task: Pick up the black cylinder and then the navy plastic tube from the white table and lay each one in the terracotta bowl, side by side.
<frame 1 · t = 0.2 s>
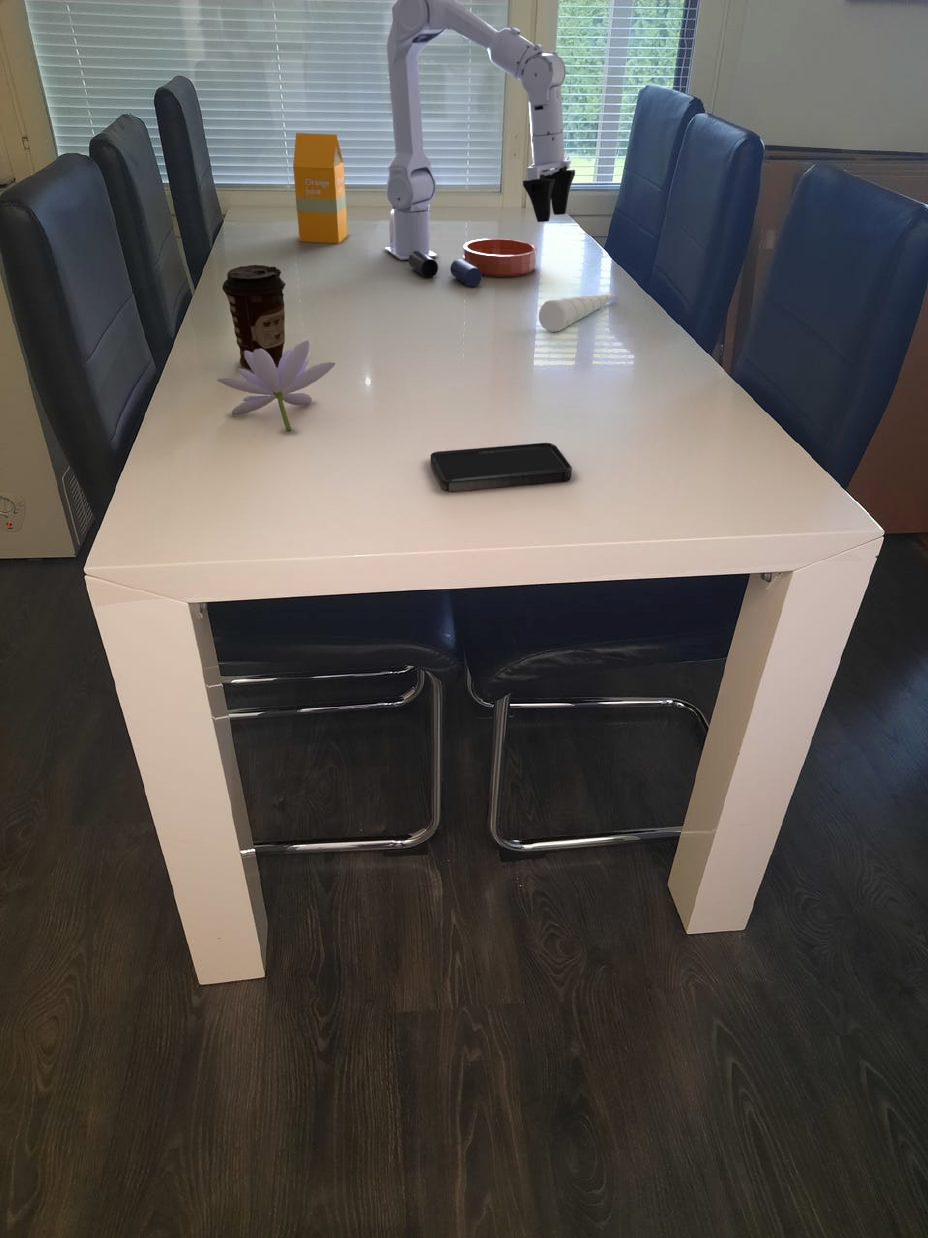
hand: (551, 217, 158), 11 cm above the table, tool pointing down, fingers open, 7 cm apart
unicorn horn: (579, 316, 145), on the table
bowl: (499, 268, 169), on the table
water lily: (283, 417, 109), on the table
navy tube: (465, 282, 161), on the table, tilted 5°
phone: (499, 471, 97), on the table
orange juice: (324, 239, 187), on the table
coffee cup: (264, 366, 123), on the table
black cylinder: (423, 273, 165), on the table
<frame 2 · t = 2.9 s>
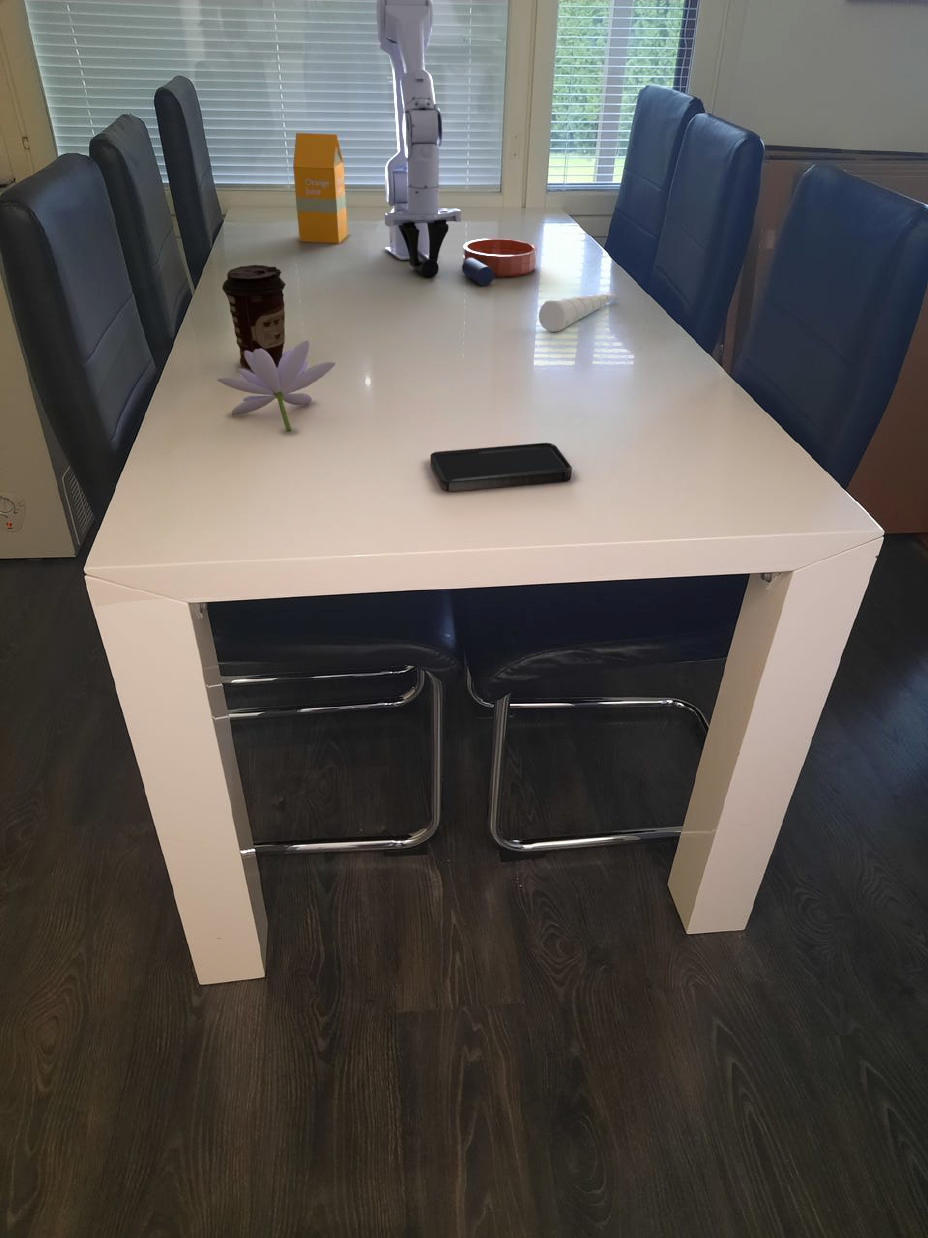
hand: (423, 263, 164), 2 cm above the table, tool pointing down, fingers closed on black cylinder, 3 cm apart
navy tube: (469, 272, 160), point 2 cm above the table, tilted 87°
black cylinder: (423, 273, 165), on the table, touching gripper
everything else where it was.
when the fingers open (2 cm above the table, at t = 6.9 s): black cylinder stays where it is, resting on bowl.
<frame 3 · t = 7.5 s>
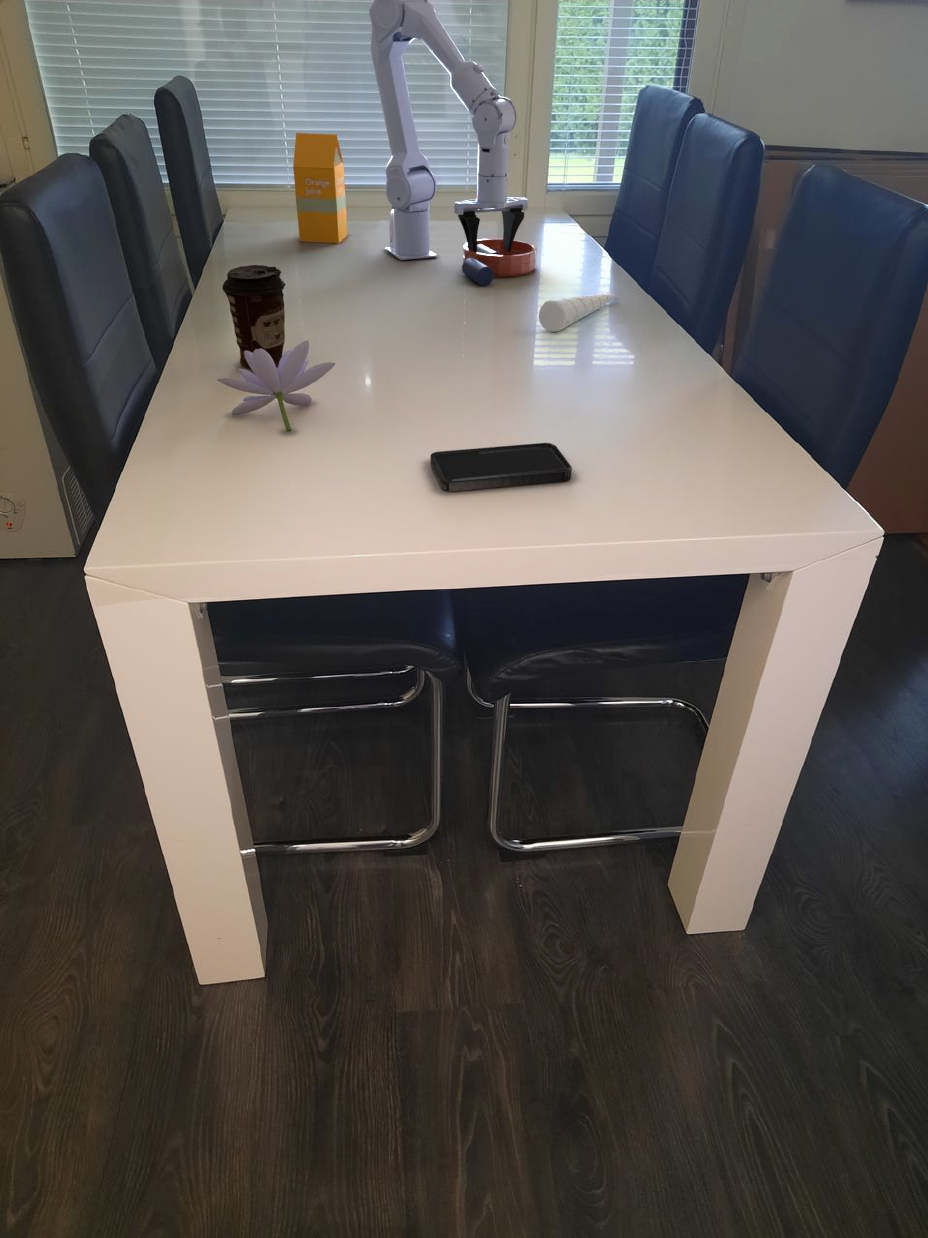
hand: (489, 252, 167), 3 cm above the table, tool pointing down, fingers open, 7 cm apart
navy tube: (469, 272, 160), point 2 cm above the table, tilted 87°, touching bowl
black cylinder: (489, 265, 168), point 1 cm above the table, tilted 21°, touching bowl
everything else where it was.
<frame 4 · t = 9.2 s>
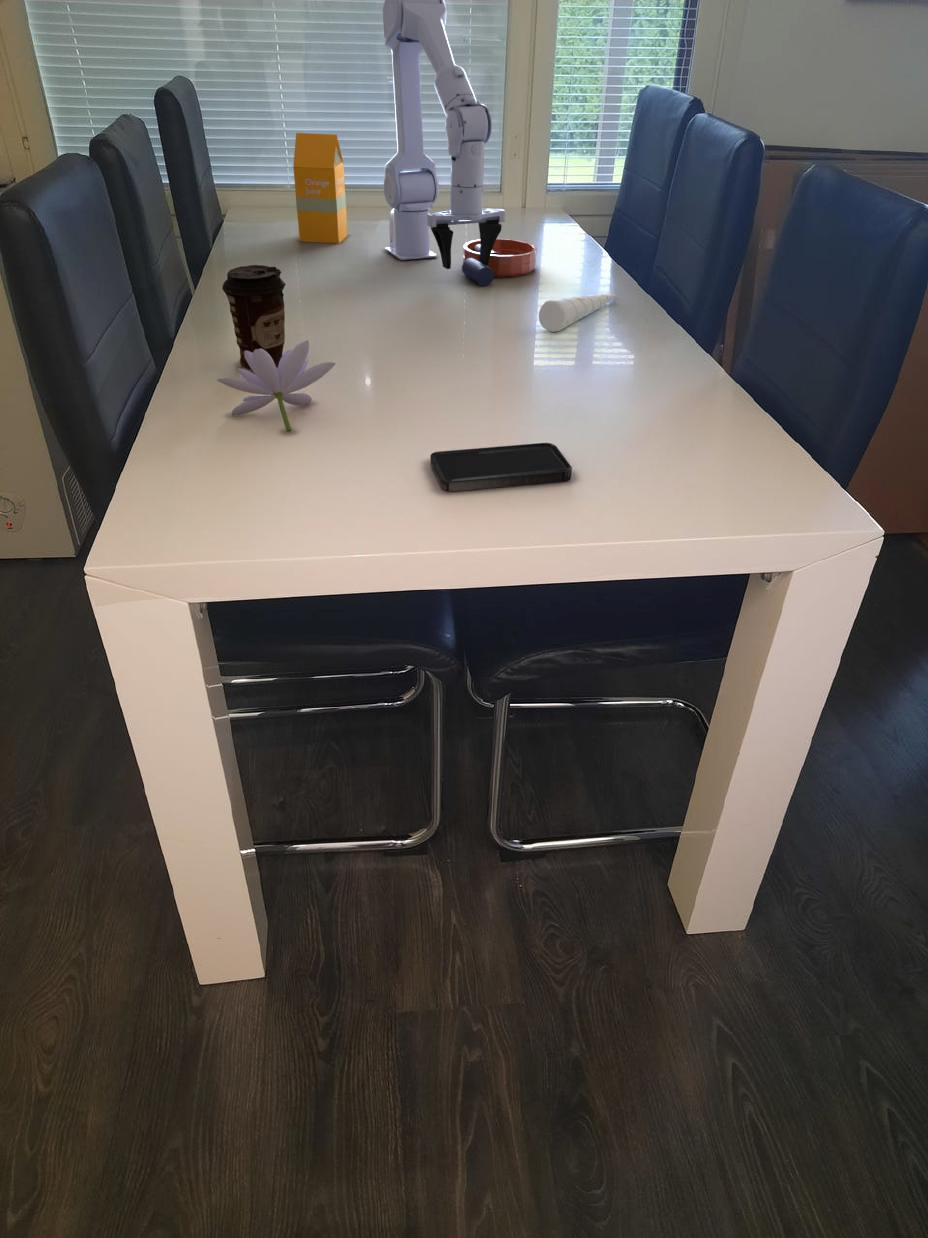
hand: (465, 265, 159), 3 cm above the table, tool pointing down, fingers open, 7 cm apart
navy tube: (469, 273, 160), point 2 cm above the table, tilted 87°, touching bowl, gripper
black cylinder: (489, 265, 168), point 1 cm above the table, tilted 28°, touching bowl
everything else where it was.
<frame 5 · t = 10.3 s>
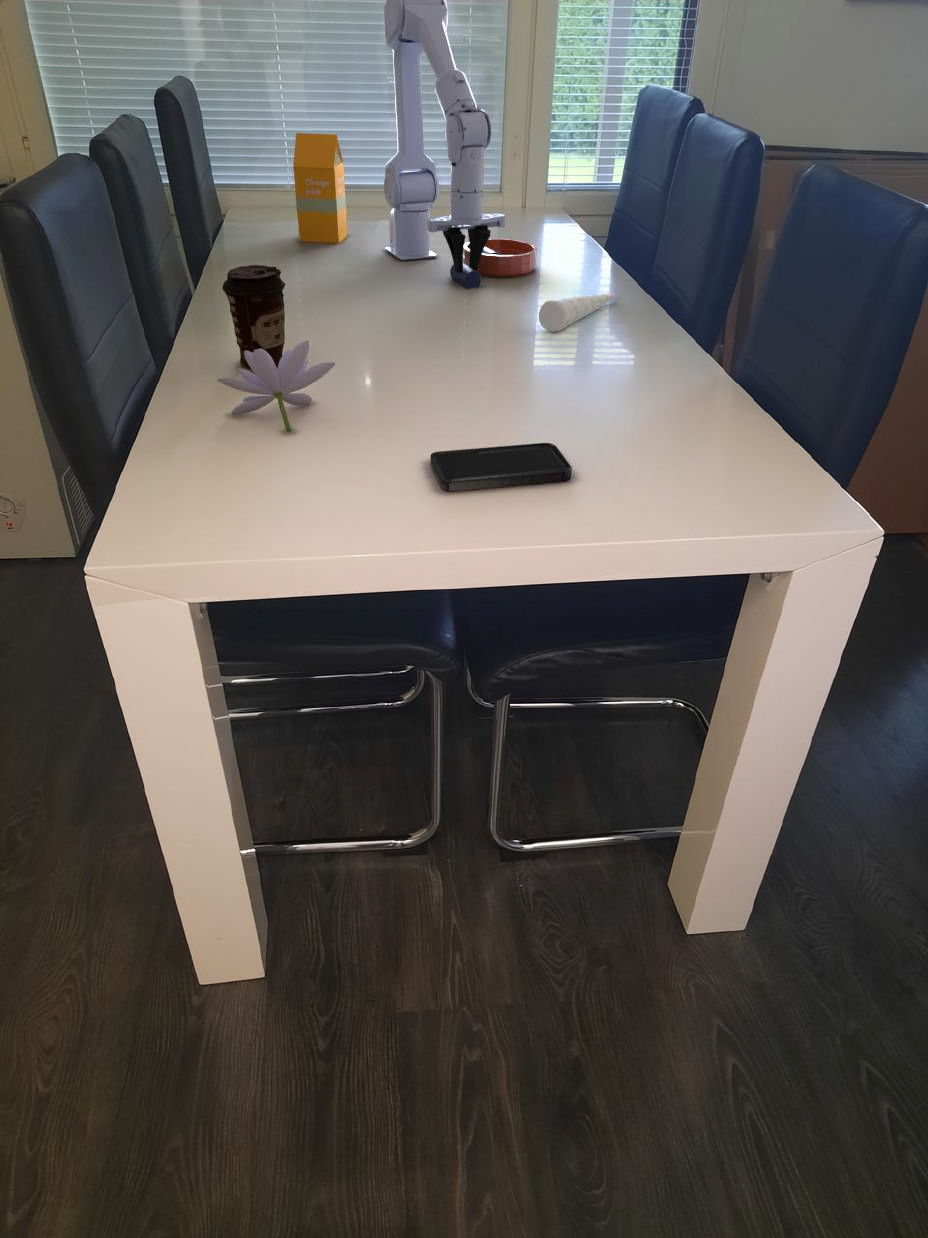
hand: (465, 270, 159), 2 cm above the table, tool pointing down, fingers closed on navy tube, 2 cm apart
navy tube: (457, 278, 159), point 1 cm above the table, tilted 80°, touching gripper
everything else where it was.
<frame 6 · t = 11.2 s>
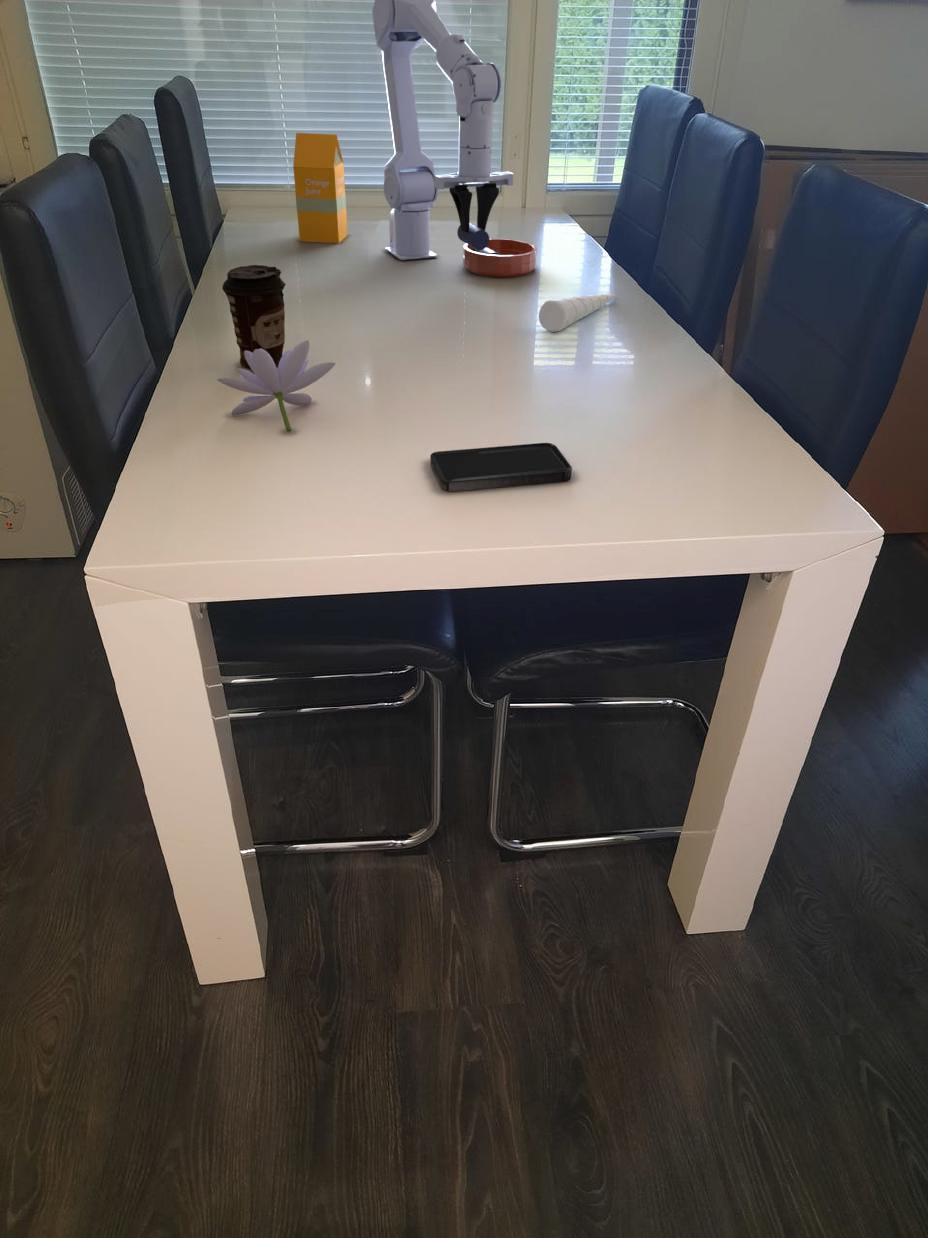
hand: (472, 230, 157), 9 cm above the table, tool pointing down, fingers closed on navy tube, 3 cm apart
navy tube: (464, 239, 157), point 7 cm above the table, tilted 73°, touching gripper
everything else where it was.
when the fingers open (3 cm above the table, at t = 13.8 s): navy tube stays where it is and tips over, resting on bowl.
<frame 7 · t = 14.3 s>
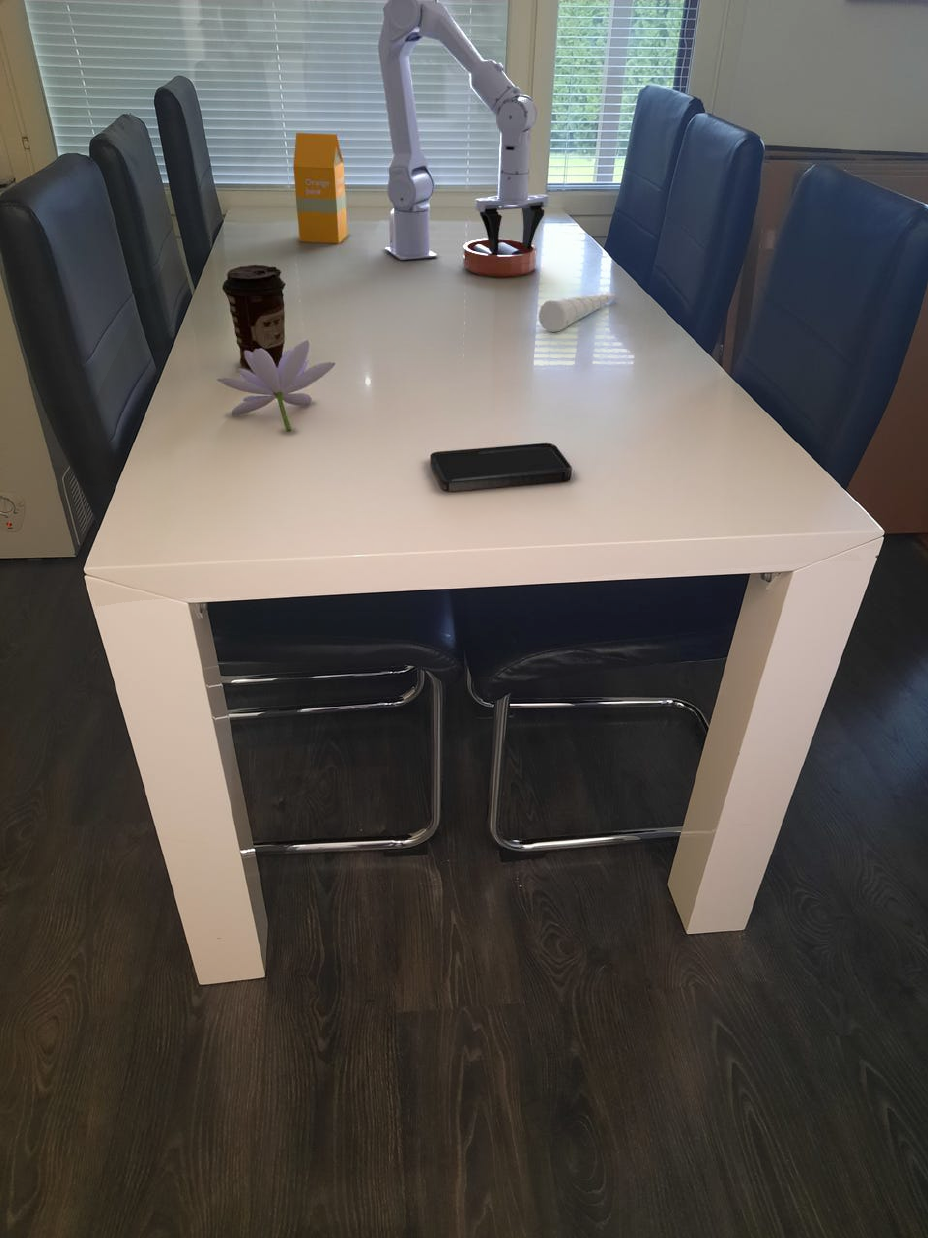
hand: (510, 248, 168), 3 cm above the table, tool pointing down, fingers open, 7 cm apart
navy tube: (501, 259, 168), point 2 cm above the table, tilted 64°, touching bowl
black cylinder: (489, 265, 168), point 1 cm above the table, tilted 28°, touching bowl, gripper
everything else where it was.
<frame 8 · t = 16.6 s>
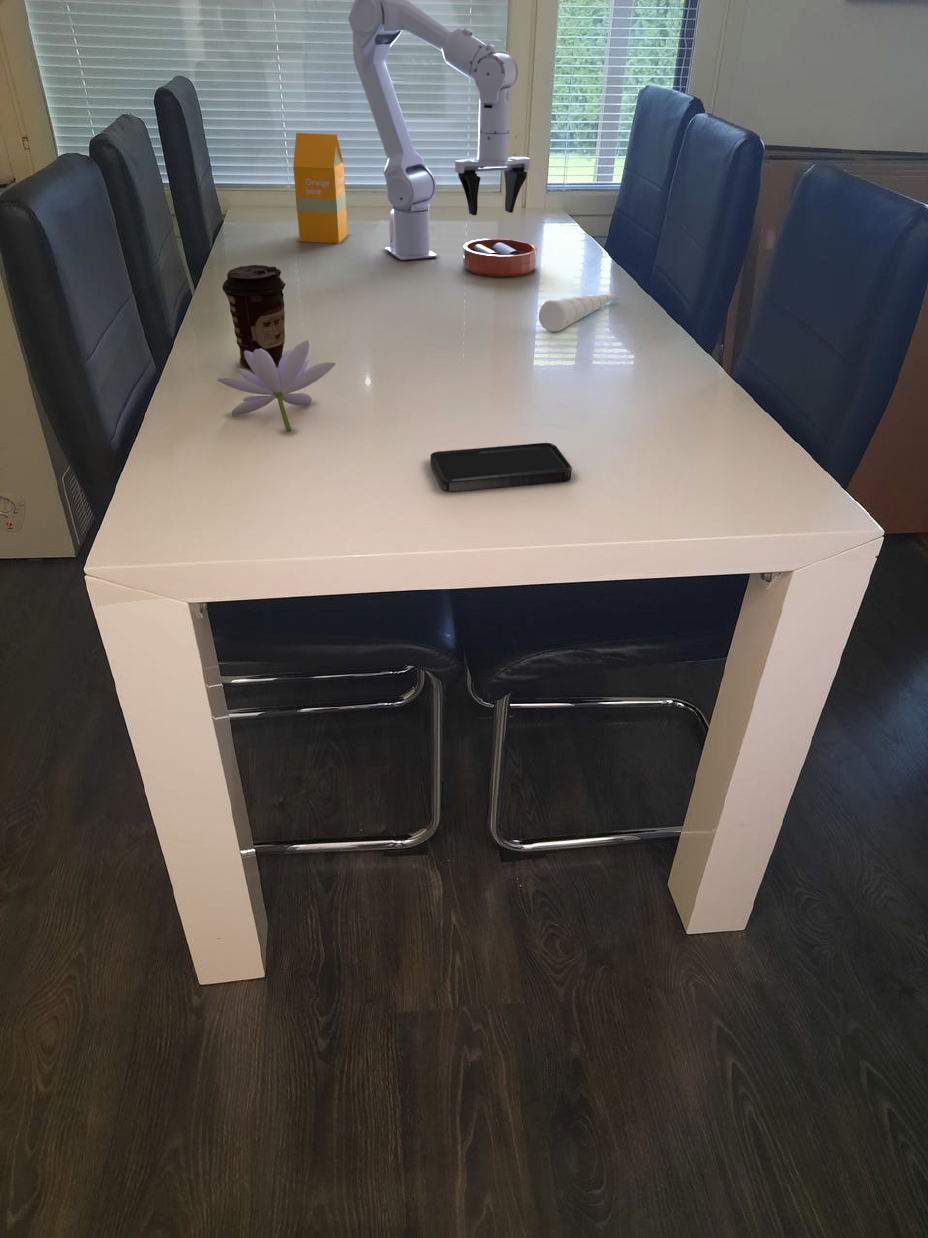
hand: (491, 212, 164), 10 cm above the table, tool pointing down, fingers open, 7 cm apart
navy tube: (500, 262, 169), point 1 cm above the table, tilted 46°, touching bowl
black cylinder: (489, 265, 168), point 1 cm above the table, tilted 28°, touching bowl
everything else where it was.
at the end: black cylinder inside the target area in the bowl (2.2 cm from its centre), point 0.8 cm above the bowl's base; navy tube inside the target area in the bowl (0.2 cm from its centre), point 1.1 cm above the bowl's base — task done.
